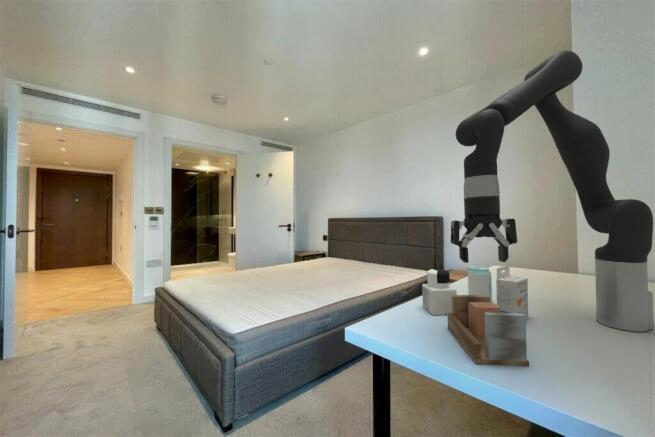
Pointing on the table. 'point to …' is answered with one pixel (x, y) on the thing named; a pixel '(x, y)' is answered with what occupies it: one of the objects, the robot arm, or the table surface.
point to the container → (438, 292)
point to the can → (479, 281)
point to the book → (480, 316)
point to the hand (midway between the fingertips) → (483, 261)
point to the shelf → (489, 334)
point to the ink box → (511, 292)
